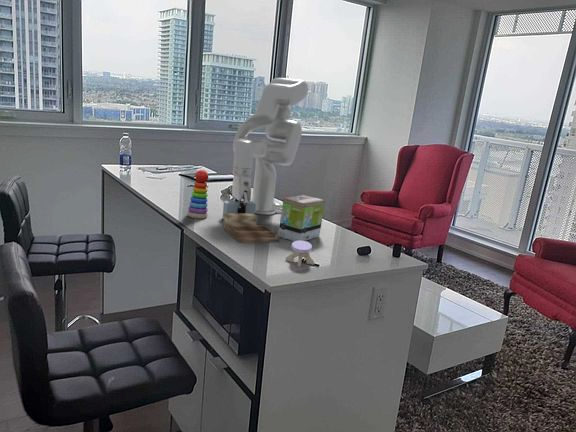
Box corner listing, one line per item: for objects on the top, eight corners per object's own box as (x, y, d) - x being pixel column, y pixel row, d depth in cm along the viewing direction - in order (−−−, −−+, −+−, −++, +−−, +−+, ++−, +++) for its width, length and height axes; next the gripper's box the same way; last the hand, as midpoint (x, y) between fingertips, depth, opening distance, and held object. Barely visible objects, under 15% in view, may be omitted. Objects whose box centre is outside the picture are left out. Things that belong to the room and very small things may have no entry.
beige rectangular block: (252, 225, 185) (253, 213, 184) (255, 228, 182) (257, 215, 181) (223, 225, 180) (224, 213, 178) (226, 228, 176) (227, 215, 175)
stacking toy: (190, 219, 183) (194, 171, 179) (184, 214, 190) (188, 167, 186) (210, 219, 187) (214, 172, 182) (203, 214, 193) (207, 168, 189)
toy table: (290, 255, 153) (292, 238, 152) (317, 261, 151) (319, 243, 150) (281, 263, 144) (283, 245, 143) (310, 269, 142) (312, 251, 140)
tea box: (300, 243, 168) (306, 203, 165) (277, 236, 173) (282, 197, 170) (320, 236, 181) (325, 199, 178) (297, 230, 186) (302, 193, 183)
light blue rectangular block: (250, 216, 196) (251, 201, 194) (254, 219, 192) (255, 203, 190) (222, 216, 191) (223, 201, 189) (226, 220, 187) (227, 204, 185)
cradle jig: (261, 229, 181) (262, 223, 180) (279, 241, 167) (280, 235, 166) (224, 229, 174) (225, 222, 173) (239, 242, 160) (240, 235, 160)
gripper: (259, 175, 181) (255, 221, 186) (243, 167, 196) (240, 210, 200) (240, 175, 178) (237, 222, 182) (226, 167, 192) (223, 210, 197)
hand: (238, 215), depth 191 cm, fingers closed on light blue rectangular block, 4 cm apart
